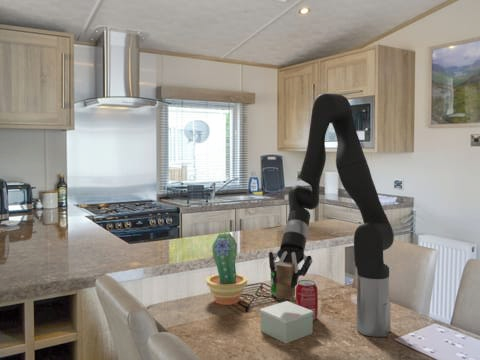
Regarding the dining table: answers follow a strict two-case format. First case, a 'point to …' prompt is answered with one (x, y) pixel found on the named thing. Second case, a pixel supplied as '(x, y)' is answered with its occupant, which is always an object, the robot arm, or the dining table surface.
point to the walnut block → (285, 280)
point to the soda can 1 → (273, 286)
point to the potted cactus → (226, 271)
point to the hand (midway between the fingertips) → (284, 285)
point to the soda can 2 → (307, 296)
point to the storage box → (286, 321)
